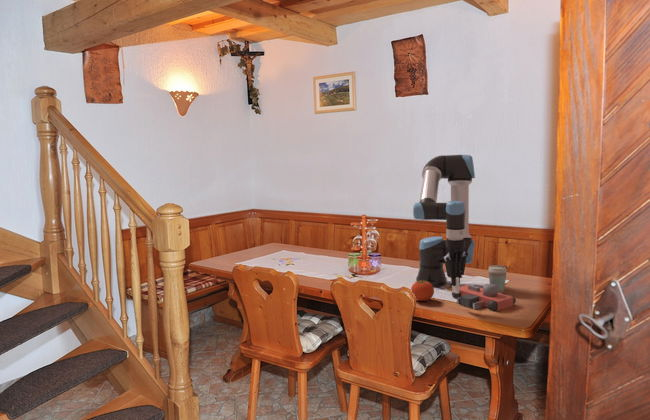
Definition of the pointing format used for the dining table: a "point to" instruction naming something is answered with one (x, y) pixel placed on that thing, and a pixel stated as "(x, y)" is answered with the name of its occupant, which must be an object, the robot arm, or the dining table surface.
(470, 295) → the grey cube
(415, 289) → the tomato
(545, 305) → the dining table surface
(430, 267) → the robot arm
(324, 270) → the dining table surface
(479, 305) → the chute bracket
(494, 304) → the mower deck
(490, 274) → the coffee cup
